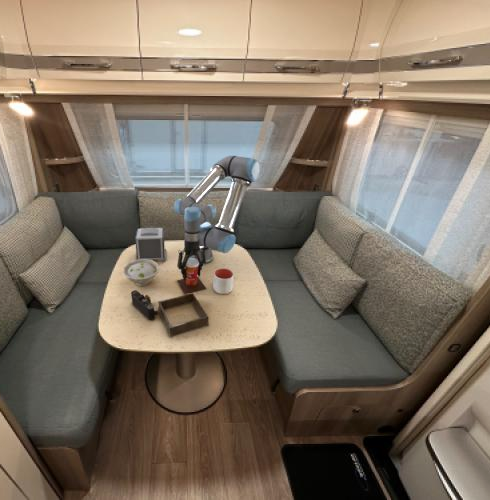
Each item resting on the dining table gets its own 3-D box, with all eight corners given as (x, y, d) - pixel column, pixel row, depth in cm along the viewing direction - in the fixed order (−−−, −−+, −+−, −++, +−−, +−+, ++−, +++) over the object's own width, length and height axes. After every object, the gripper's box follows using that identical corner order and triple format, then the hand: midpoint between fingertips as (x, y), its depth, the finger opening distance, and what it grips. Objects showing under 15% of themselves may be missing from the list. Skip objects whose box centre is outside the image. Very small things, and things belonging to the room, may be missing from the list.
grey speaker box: (165, 250, 175) (164, 225, 166) (165, 261, 164) (164, 234, 155) (137, 251, 174) (135, 225, 165) (135, 262, 163) (132, 235, 154)
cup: (218, 281, 147) (219, 266, 142) (234, 287, 142) (236, 271, 137) (209, 291, 139) (210, 275, 134) (227, 297, 135) (228, 281, 130)
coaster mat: (197, 276, 151) (197, 275, 150) (206, 288, 141) (206, 288, 141) (177, 281, 147) (177, 280, 146) (184, 294, 137) (184, 293, 137)
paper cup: (181, 282, 143) (181, 260, 136) (191, 277, 148) (191, 255, 141) (191, 289, 138) (191, 267, 131) (201, 283, 143) (202, 261, 136)
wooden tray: (192, 300, 133) (192, 292, 130) (207, 325, 118) (208, 317, 116) (158, 309, 127) (158, 301, 124) (170, 336, 113) (169, 328, 110)
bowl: (167, 279, 148) (166, 264, 143) (143, 298, 134) (142, 282, 129) (141, 268, 157) (139, 253, 152) (116, 284, 143) (114, 269, 138)
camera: (161, 315, 124) (160, 301, 120) (149, 322, 120) (148, 308, 116) (141, 297, 134) (140, 284, 130) (130, 303, 130) (128, 290, 126)
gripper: (207, 232, 136) (206, 269, 147) (169, 238, 129) (170, 277, 141) (214, 238, 130) (211, 276, 141) (174, 245, 123) (175, 285, 135)
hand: (191, 276), depth 141 cm, fingers closed on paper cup, 8 cm apart
